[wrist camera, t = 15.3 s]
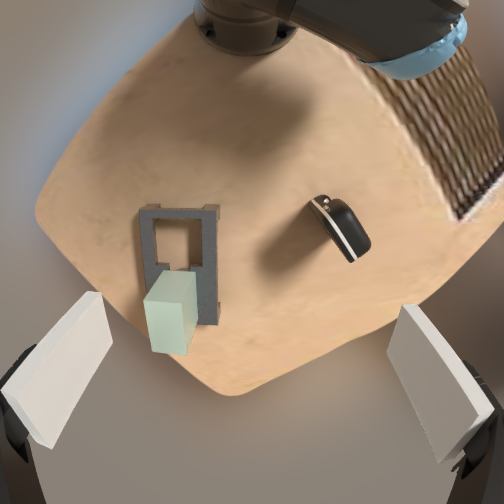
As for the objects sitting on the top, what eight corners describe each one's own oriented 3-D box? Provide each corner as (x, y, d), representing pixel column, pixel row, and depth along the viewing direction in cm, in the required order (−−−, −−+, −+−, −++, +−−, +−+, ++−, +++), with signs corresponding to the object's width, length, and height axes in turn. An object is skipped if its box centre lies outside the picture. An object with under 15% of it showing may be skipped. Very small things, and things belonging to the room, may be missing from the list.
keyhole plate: (148, 203, 42) (138, 209, 38) (219, 204, 42) (216, 210, 38) (157, 307, 48) (150, 320, 45) (220, 312, 48) (217, 325, 45)
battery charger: (351, 224, 43) (379, 250, 32) (331, 238, 44) (353, 269, 33) (326, 186, 41) (350, 202, 30) (305, 201, 42) (322, 222, 31)
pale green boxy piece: (167, 260, 45) (140, 300, 33) (202, 262, 45) (184, 303, 33) (171, 304, 48) (149, 351, 36) (204, 306, 48) (189, 355, 36)
